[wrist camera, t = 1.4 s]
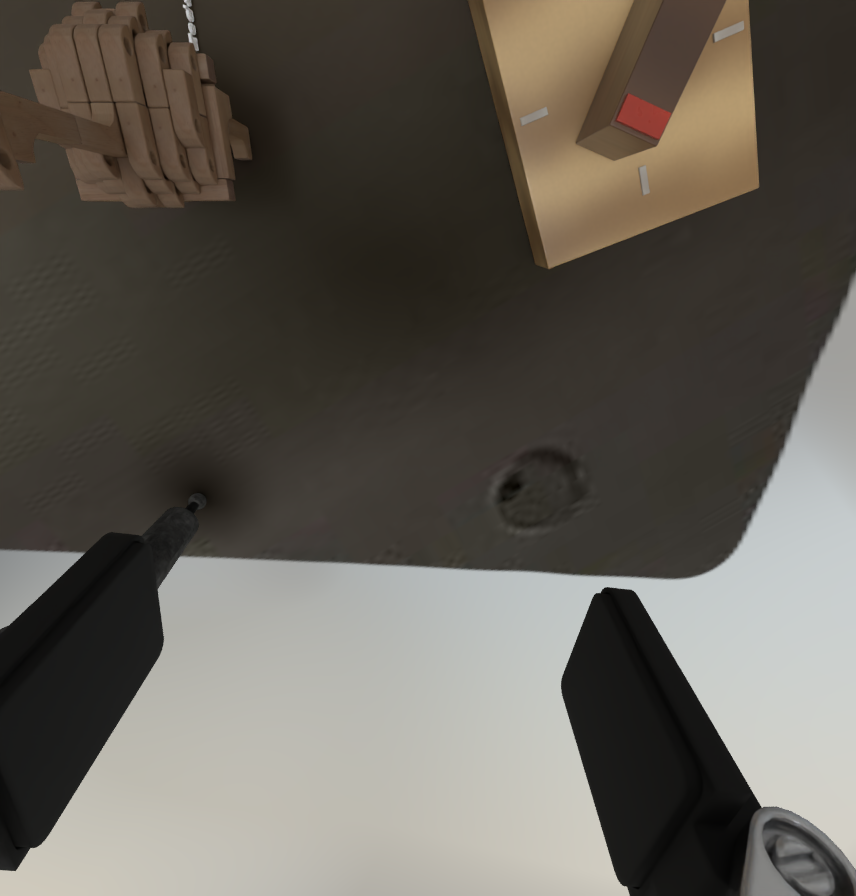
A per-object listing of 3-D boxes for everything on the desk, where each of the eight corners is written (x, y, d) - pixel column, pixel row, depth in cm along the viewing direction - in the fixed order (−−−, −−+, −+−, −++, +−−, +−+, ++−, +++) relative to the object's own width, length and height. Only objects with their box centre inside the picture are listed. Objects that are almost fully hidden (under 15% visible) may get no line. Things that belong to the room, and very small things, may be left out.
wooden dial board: (461, -22, 24) (468, -61, 21) (694, -136, 23) (740, -198, 19) (535, 265, 30) (549, 269, 27) (722, 192, 29) (761, 187, 25)
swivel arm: (643, -23, 22) (704, -93, 17) (687, 0, 22) (759, -62, 17) (574, 143, 25) (611, 123, 20) (614, 161, 25) (660, 146, 20)
